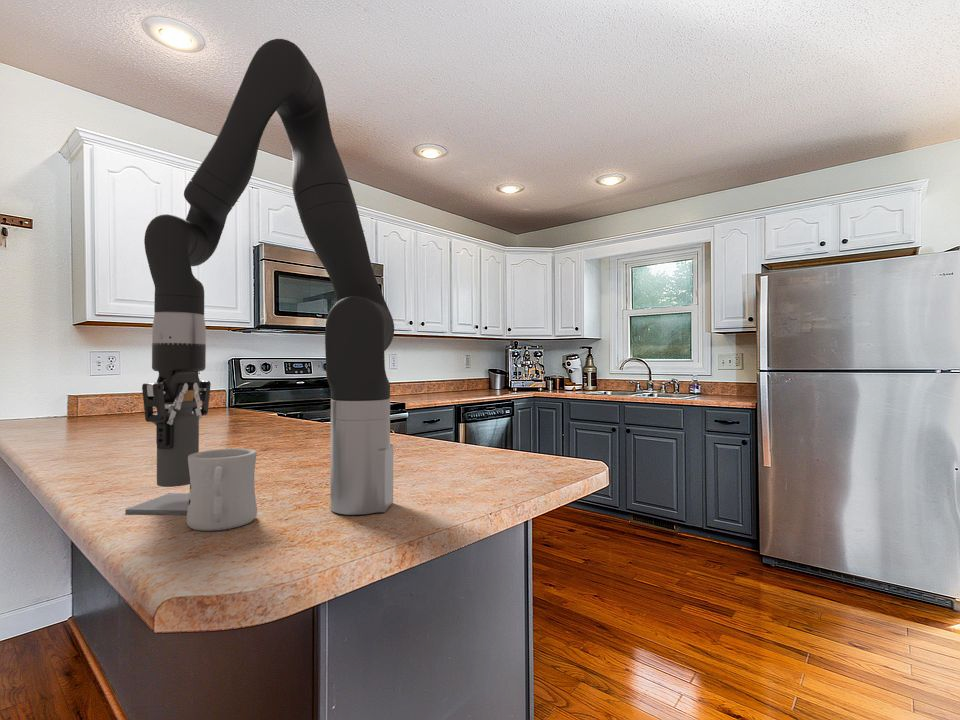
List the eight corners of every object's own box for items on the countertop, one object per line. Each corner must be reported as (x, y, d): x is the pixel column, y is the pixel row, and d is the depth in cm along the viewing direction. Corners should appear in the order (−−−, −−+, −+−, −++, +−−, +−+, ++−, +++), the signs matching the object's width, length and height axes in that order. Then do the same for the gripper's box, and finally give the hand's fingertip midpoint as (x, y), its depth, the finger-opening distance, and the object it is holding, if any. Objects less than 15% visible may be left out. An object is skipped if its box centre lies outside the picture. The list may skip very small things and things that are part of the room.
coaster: (225, 497, 87) (225, 493, 87) (188, 514, 77) (188, 510, 77) (168, 496, 88) (168, 493, 88) (125, 513, 78) (125, 509, 78)
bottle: (179, 488, 79) (180, 391, 79) (147, 486, 80) (148, 391, 80) (206, 479, 85) (207, 389, 85) (176, 478, 86) (177, 389, 86)
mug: (191, 517, 76) (191, 450, 76) (258, 510, 79) (258, 446, 79) (176, 544, 64) (176, 465, 64) (255, 535, 68) (255, 460, 68)
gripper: (172, 339, 75) (171, 453, 75) (226, 344, 90) (225, 439, 90) (124, 339, 76) (122, 453, 76) (185, 343, 90) (184, 439, 90)
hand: (178, 445), depth 83 cm, fingers closed on bottle, 5 cm apart
